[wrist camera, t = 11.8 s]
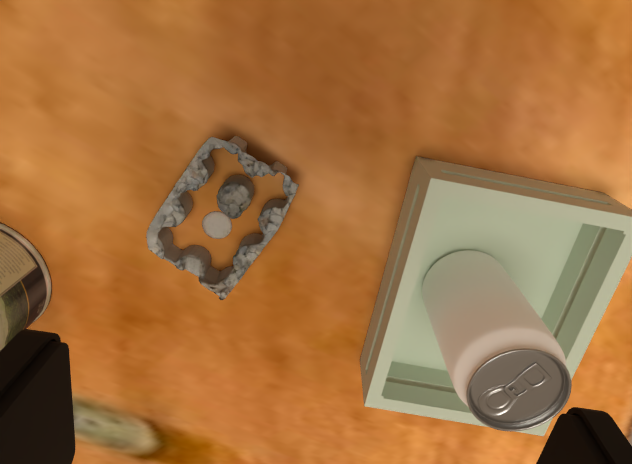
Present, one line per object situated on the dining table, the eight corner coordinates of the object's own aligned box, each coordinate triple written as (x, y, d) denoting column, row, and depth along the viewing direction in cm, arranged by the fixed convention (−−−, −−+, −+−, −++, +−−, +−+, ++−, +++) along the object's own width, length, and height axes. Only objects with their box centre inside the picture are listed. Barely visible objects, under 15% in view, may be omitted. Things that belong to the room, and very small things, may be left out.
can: (403, 284, 38) (434, 390, 27) (470, 230, 36) (533, 320, 25) (456, 335, 39) (506, 455, 28) (522, 286, 38) (603, 394, 26)
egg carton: (231, 281, 39) (221, 308, 36) (150, 229, 38) (129, 252, 34) (309, 179, 36) (307, 198, 32) (223, 118, 34) (209, 129, 30)
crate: (416, 156, 35) (431, 177, 30) (603, 192, 35) (649, 220, 30) (359, 359, 42) (364, 406, 36) (517, 387, 42) (543, 436, 37)
